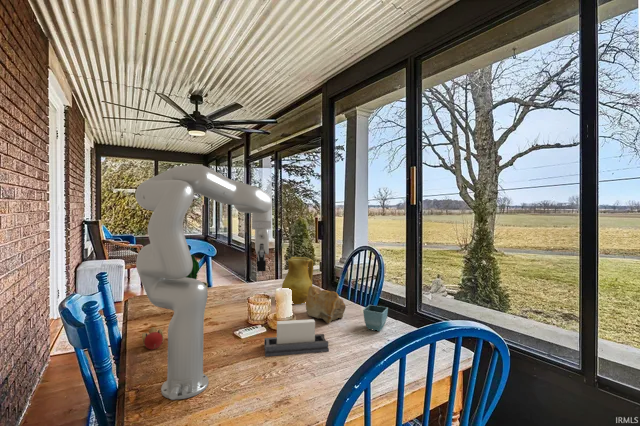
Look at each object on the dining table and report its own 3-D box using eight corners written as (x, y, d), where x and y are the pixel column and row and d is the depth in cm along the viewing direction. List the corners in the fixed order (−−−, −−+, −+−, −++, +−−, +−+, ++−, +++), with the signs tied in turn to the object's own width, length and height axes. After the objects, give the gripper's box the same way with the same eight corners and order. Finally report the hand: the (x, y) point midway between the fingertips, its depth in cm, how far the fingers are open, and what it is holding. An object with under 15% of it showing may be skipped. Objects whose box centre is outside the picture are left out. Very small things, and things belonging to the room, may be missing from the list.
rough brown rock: (356, 325, 146) (358, 292, 147) (325, 328, 138) (327, 293, 139) (330, 312, 166) (332, 283, 167) (302, 313, 158) (304, 283, 159)
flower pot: (362, 330, 137) (362, 309, 137) (369, 323, 145) (369, 304, 145) (382, 334, 133) (382, 313, 133) (387, 327, 141) (388, 307, 141)
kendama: (139, 339, 127) (139, 351, 112) (143, 323, 129) (143, 332, 113) (160, 339, 131) (163, 351, 115) (164, 323, 132) (166, 332, 117)
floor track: (328, 351, 116) (328, 343, 116) (265, 356, 111) (265, 348, 111) (322, 340, 126) (322, 332, 126) (264, 344, 121) (264, 336, 121)
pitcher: (278, 297, 184) (281, 254, 183) (309, 297, 189) (312, 255, 189) (283, 307, 168) (287, 260, 167) (317, 306, 173) (320, 261, 172)
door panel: (314, 345, 119) (315, 322, 118) (277, 348, 116) (277, 324, 116) (313, 341, 122) (313, 318, 122) (276, 344, 119) (276, 320, 119)
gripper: (272, 226, 118) (271, 272, 118) (269, 224, 134) (269, 264, 135) (251, 226, 116) (251, 273, 116) (251, 224, 133) (251, 265, 133)
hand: (260, 268), depth 125 cm, fingers open, 9 cm apart
